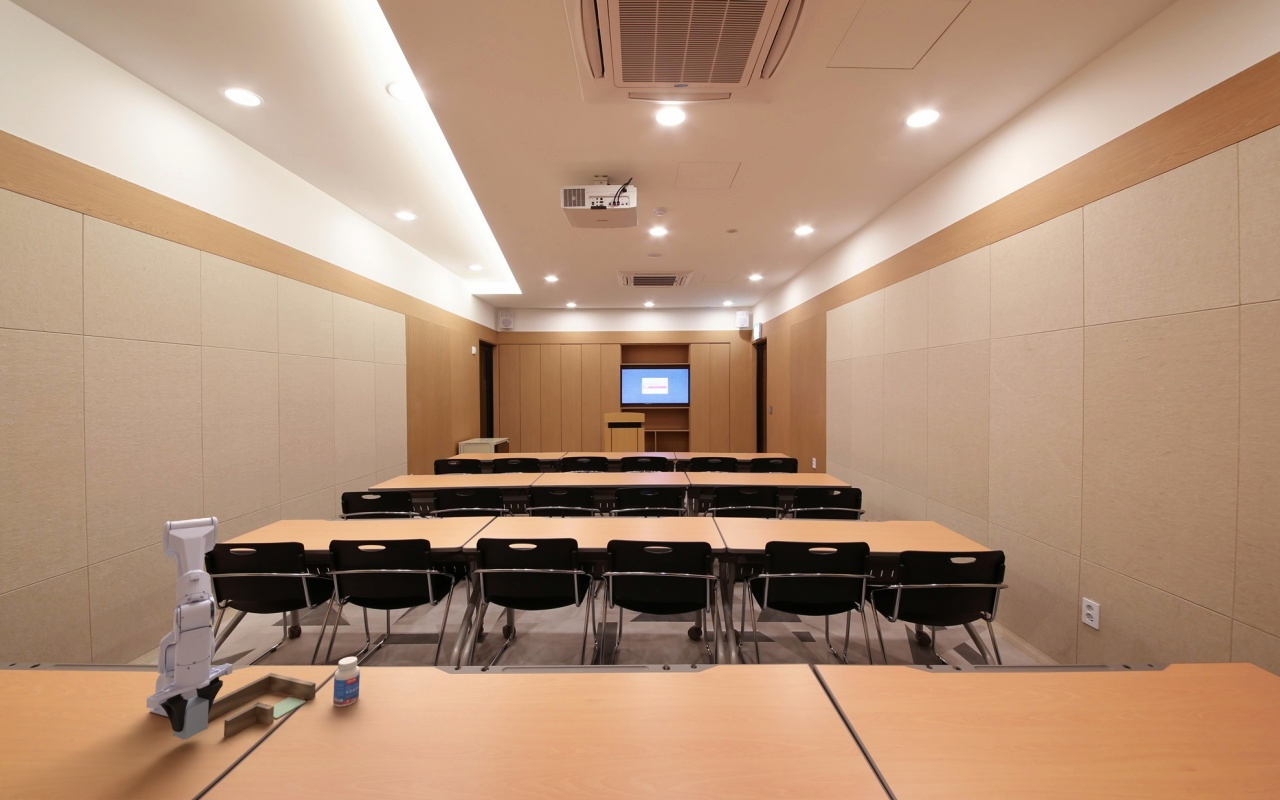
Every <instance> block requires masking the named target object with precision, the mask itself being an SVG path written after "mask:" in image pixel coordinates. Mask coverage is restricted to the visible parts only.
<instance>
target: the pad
mask: <svg viewBox="0 0 1280 800" xmlns="http://www.w3.org/2000/svg"><path fill="white" fill-rule="evenodd" d="M306 703H307V701H306V700H305V699H304V700H303V699H301V698H296V697H293V696H292V697H291V696H288V697H287V698H284V699H282V700H281V701H280V702H278V703H275V704H273V706H274V719H275V720H278V719H280V718H282V717H283V716H285V715H286V714H288V713H290V712H292V711H293V710H296V709H297V708H299V707H300V706H302V705H303V704H306Z"/></svg>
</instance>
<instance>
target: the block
mask: <svg viewBox="0 0 1280 800" xmlns="http://www.w3.org/2000/svg"><path fill="white" fill-rule="evenodd" d="M208 705H209V700H207V699H204V698H200V697H194V698H192V699H189V701H188V703H187V706H186V710H185V715H184V727H183V731H181V732H175V731H173V730H172V736H173V737H175V738H179V739H182V740H188V739H190V738H191V737H193V736H196V735H197V734H199V733H201V732H203V731H206V730H208V728H209V721H208Z"/></svg>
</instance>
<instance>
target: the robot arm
mask: <svg viewBox="0 0 1280 800" xmlns="http://www.w3.org/2000/svg"><path fill="white" fill-rule="evenodd" d="M162 527H163V528H162V553H163V554H164V555H163V556H164V557H165V558H166V557H167V558H170V559H173V560H174V561H175V564H176V583H175V594H176V595H175V598H176V599H175V600H176V602H175V603H176V605H175V608H174V610H173V629H171V631H169V632H168V633H167V634H166V635H164V636H163V637H162V638H161V640H160V641H159V646H158V647H159V648H158V657H157V673H158V674H159V675H158V677H157V678H156V681H155V690H154V691H155V692H154V694H152V695H150V696H147V697H146V704H145V705H146V708H148V709H149V712H151V713H154V714H157V715H159V716H164V717H167V718H168V719H169V722H170V725H171V729H172V732H173V731H175V732H181V731H183V727H184V715H185V710H186V706H187V703H188V701H189V699H192V698H194V697H200V698H204V699H207V700H209V705H208V715H209V712H210V709H211V706H212V704H213V701H214V700H216V697H217V695H218V694H219V692H220V690H221V689H222V687H223V685H224V681H223V680H222V679H220V678H221V677H223V676H229V675H232V674H233V668H234V667H233V664H231V663H224V664H222V665H219V666H215V667H212V668H211V663H212V661H213V659H215V655H216V654H215V652H216V645H215V644H216V642H215V641H216V640H215V631H214V629H213V626H214V625H215V623H216V622H215V621H216V615H217V607H216V605H217V604H216V601H215V598H214V594H213V593H212V584H211V575H210V574H209V573H208V572H207V571H204V563H205V554H206V553H208V552H211V551H213V550H214V547H215V546H216V543H217V540H218V534H219V520H218V518H217V517H216V516H212V517H204V518H194V519H185V520H184V519H183V520H175V521H174V520H173V521H166V522H165V523H163V526H162Z"/></svg>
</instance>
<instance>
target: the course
mask: <svg viewBox="0 0 1280 800" xmlns="http://www.w3.org/2000/svg"><path fill="white" fill-rule="evenodd" d="M316 685H317V684H316V682H312V681H308V680H305V679H299V678H295V677H290V676H285V675H283V674H278V673H273V672H270V673H268V674H266V675H264V676H262V677H260V678H258V679H257V678H256V679H255V680H253V681H251V682H249V683H248V684H245V685H243V686H241V687H239V688H237V689H234V690H233V691H231V692H228V693H227V694H225V695H223V696H220V697H219V698H215V699H214V701H213V704H212V706H211V709H210V712H209V715H208V722H210V721H212V720H214V719H216V718H218V717H220V716H222V715H224V714H226V713H228V712H230V711H231V710H233V709H235V708H237V707H240V706H241V705H243V704H245V703H247V702H248V701H251V700H252V699H254V698H256V697H259V696H261V695H262V694H264V693H266V692H269V691H272V692H275V693H280V694H283V695H288V696H292V697H295V698H296V697H297V698H299V699H304V700H309V701H312V700H314V699H315V698H316ZM274 719H275V718H274V705H270V704H268V703H263V702H259V701H258V702H255V703H253V704H251V705H250V706H248V707H247V708H244V709H243V710H240V711H238V712H237V713H235V714H233V715H231V716H229V717H227V718H225V719H224V721H223V724H224V725H223V726H224V727H223V729H224V730H223V737H225V738H230V737H231V736H233V735H235V734H237V733H238V732H240V731H242V730H243V729H246V728H247V727H249V726H251V725H253V724H255V723H258V724H263V725H267V726H269V725H270V724H272V723H274Z"/></svg>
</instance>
